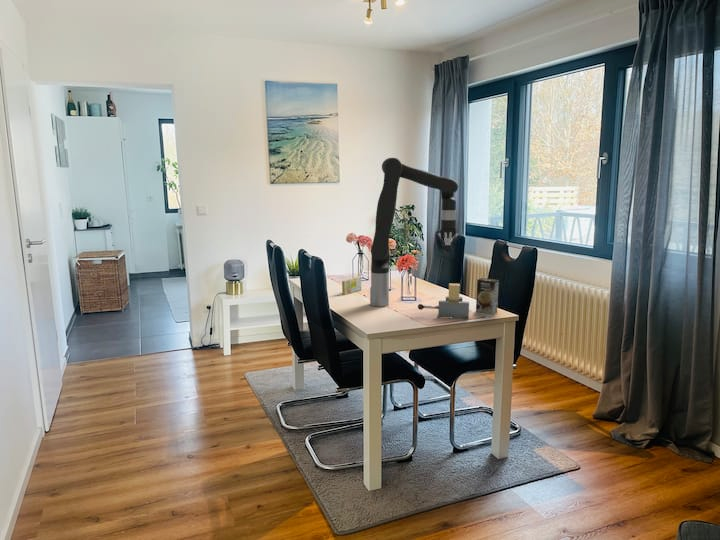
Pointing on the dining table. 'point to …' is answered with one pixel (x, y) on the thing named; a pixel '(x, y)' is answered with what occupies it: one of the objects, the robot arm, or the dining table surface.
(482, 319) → the dining table surface
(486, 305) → the coffee box
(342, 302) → the dining table surface
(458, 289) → the brass block
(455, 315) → the vise
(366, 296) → the dining table surface
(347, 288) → the candy box
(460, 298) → the moving jaw
